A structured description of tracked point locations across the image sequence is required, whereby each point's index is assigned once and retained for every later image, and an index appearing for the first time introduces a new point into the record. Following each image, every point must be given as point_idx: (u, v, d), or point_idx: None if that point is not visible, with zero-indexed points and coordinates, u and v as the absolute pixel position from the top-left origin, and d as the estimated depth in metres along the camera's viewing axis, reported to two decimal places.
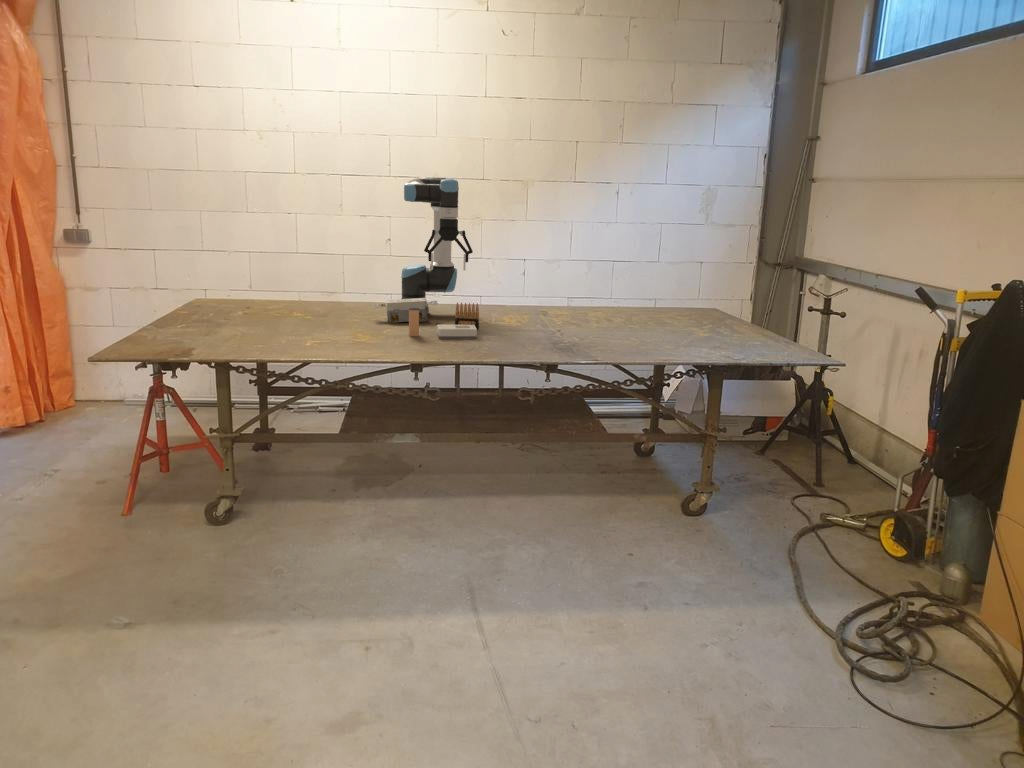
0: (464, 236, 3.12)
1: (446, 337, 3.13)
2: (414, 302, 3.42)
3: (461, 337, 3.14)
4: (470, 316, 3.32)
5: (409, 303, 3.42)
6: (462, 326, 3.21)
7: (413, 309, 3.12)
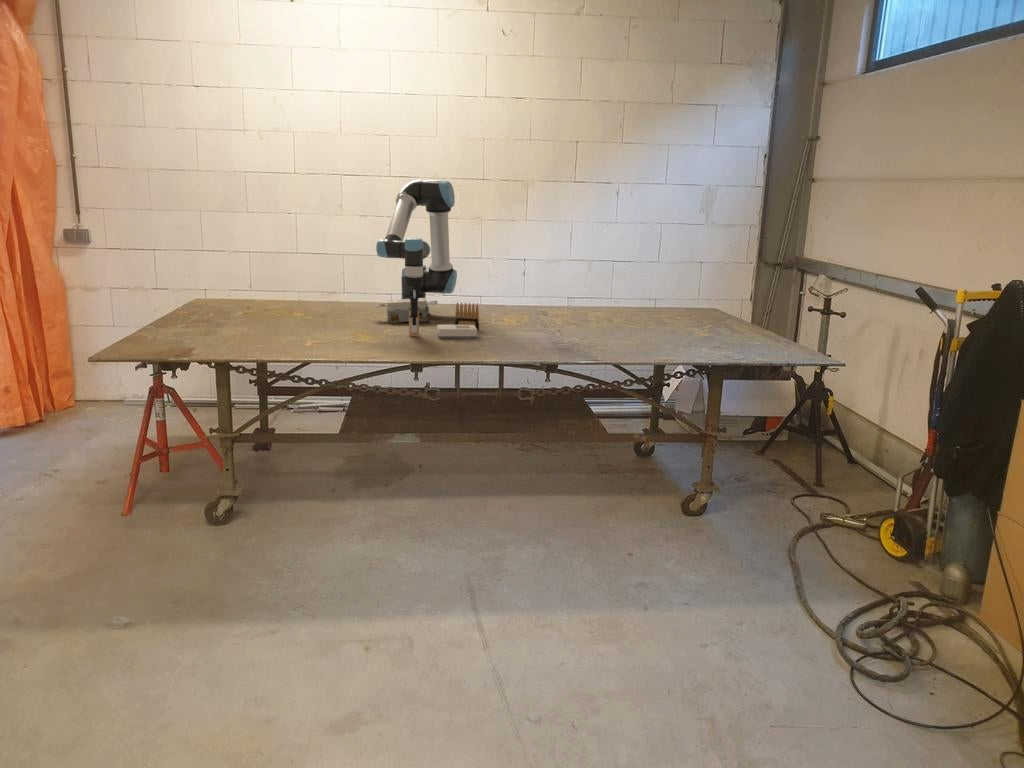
0: (411, 298, 3.08)
1: (446, 337, 3.13)
2: None
3: (461, 337, 3.14)
4: (470, 316, 3.32)
5: (409, 303, 3.42)
6: (462, 326, 3.21)
7: None
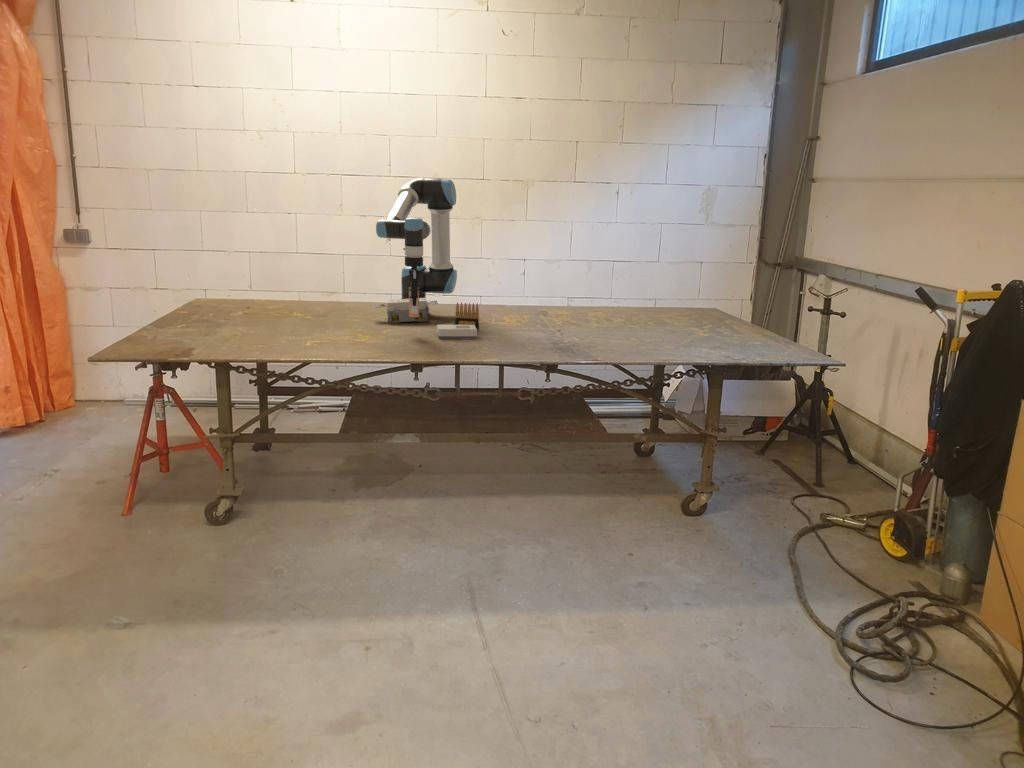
0: (411, 279, 3.06)
1: (446, 337, 3.13)
2: None
3: (461, 337, 3.14)
4: (470, 316, 3.32)
5: None
6: (462, 326, 3.21)
7: None
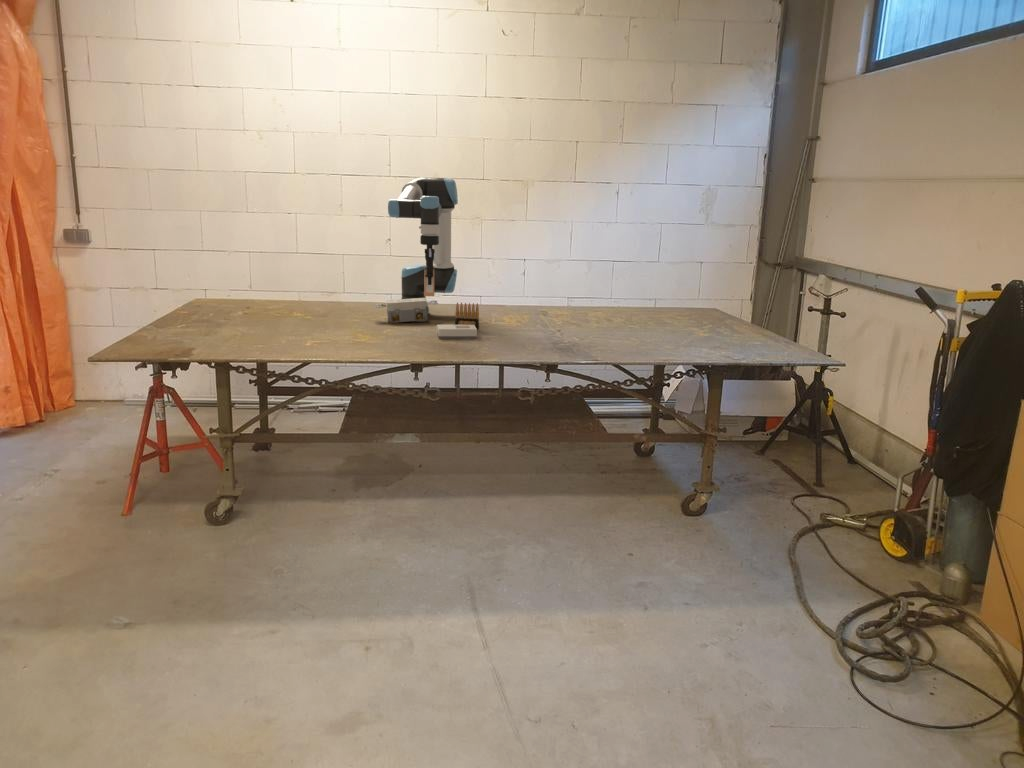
0: (427, 257, 3.04)
1: (446, 337, 3.13)
2: (415, 302, 3.42)
3: (461, 337, 3.14)
4: (470, 316, 3.32)
5: (410, 303, 3.42)
6: (462, 326, 3.21)
7: None
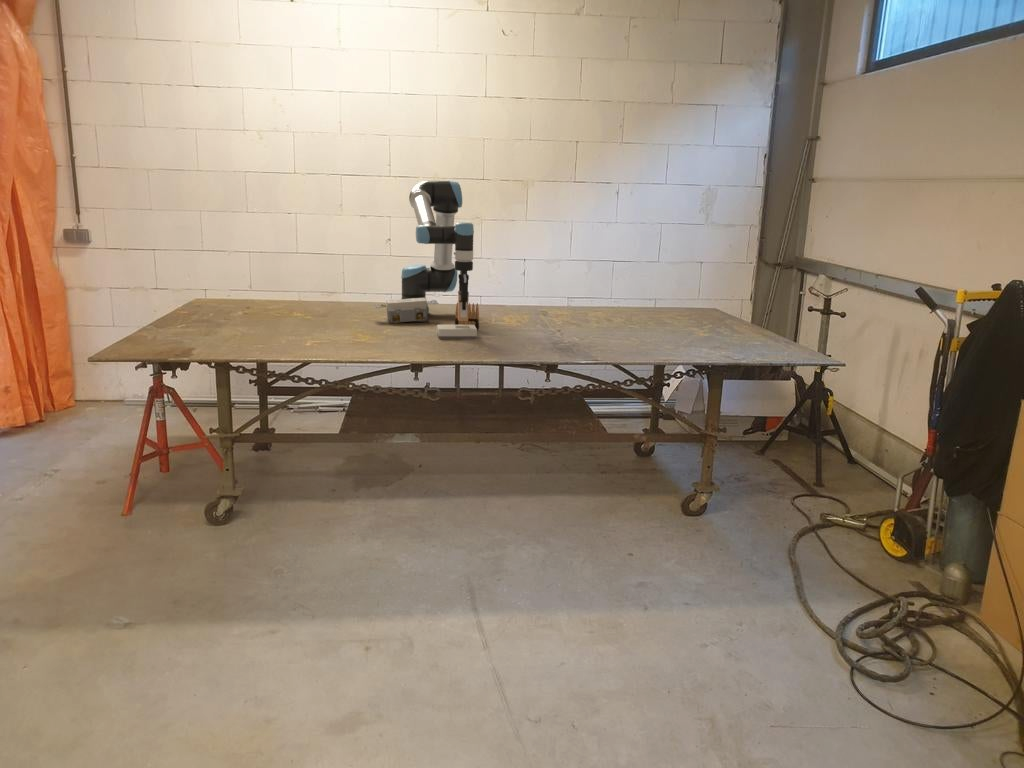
0: (462, 283, 3.07)
1: (446, 337, 3.13)
2: (415, 302, 3.42)
3: (461, 337, 3.14)
4: (470, 316, 3.32)
5: (410, 303, 3.42)
6: (462, 326, 3.21)
7: None
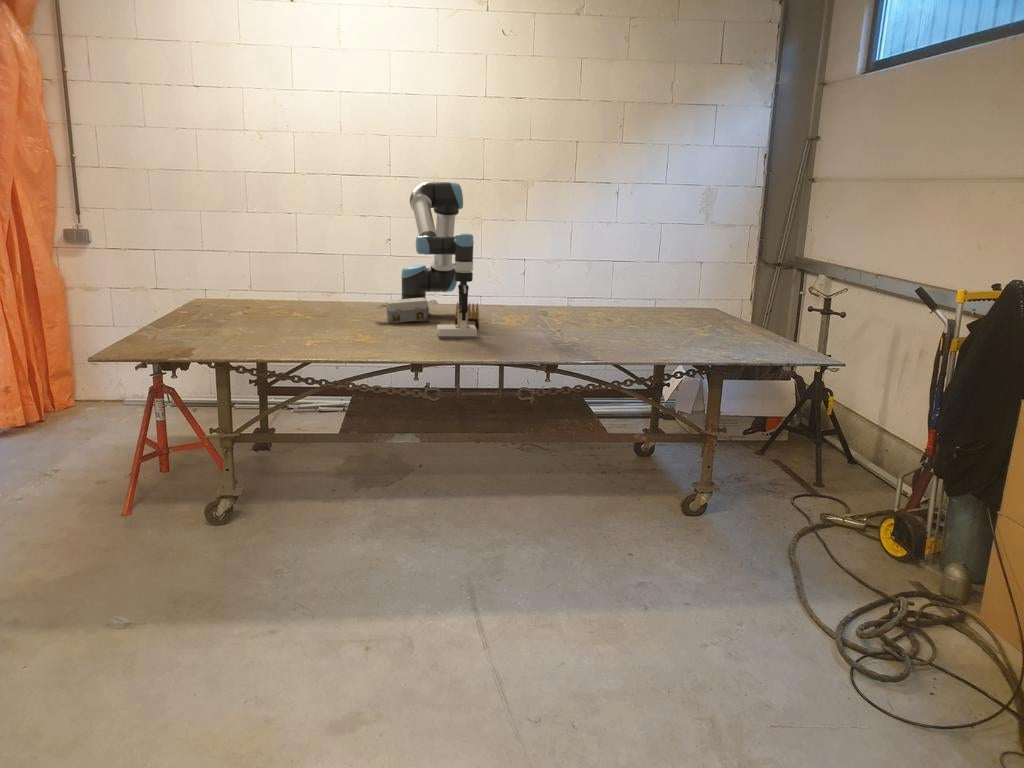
0: (461, 294, 3.09)
1: (446, 337, 3.13)
2: (415, 302, 3.43)
3: (461, 337, 3.14)
4: (470, 316, 3.32)
5: (410, 303, 3.42)
6: None
7: None
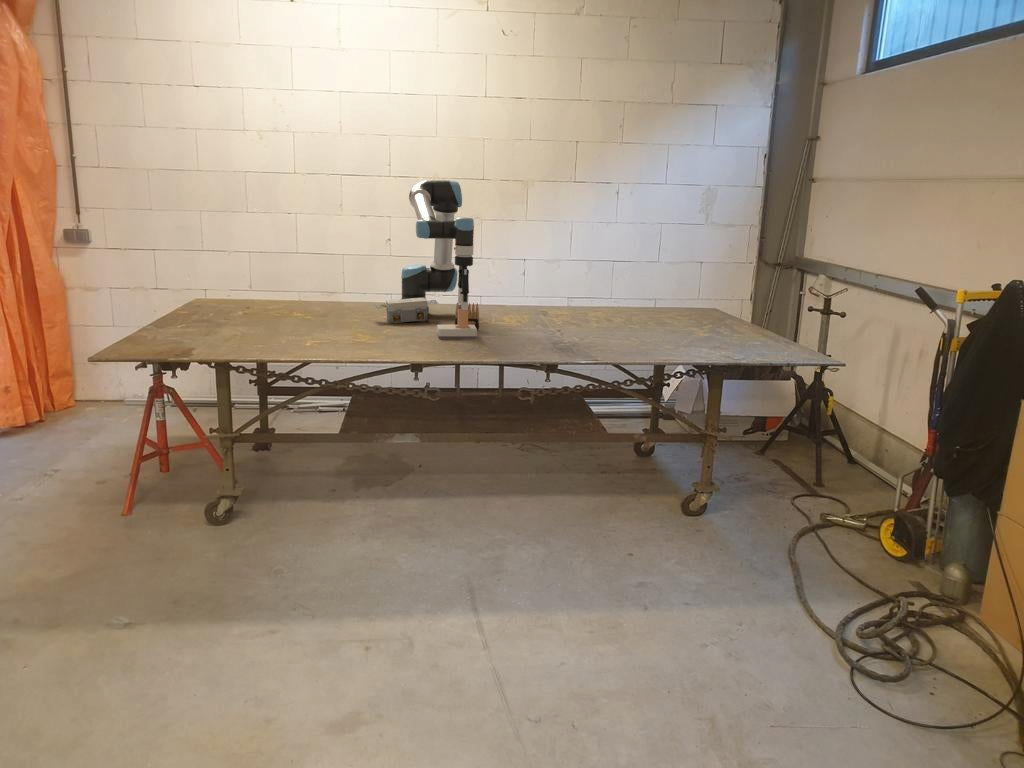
0: (462, 275, 3.06)
1: (446, 337, 3.13)
2: (416, 302, 3.43)
3: (461, 337, 3.14)
4: (470, 316, 3.32)
5: (411, 303, 3.42)
6: None
7: None
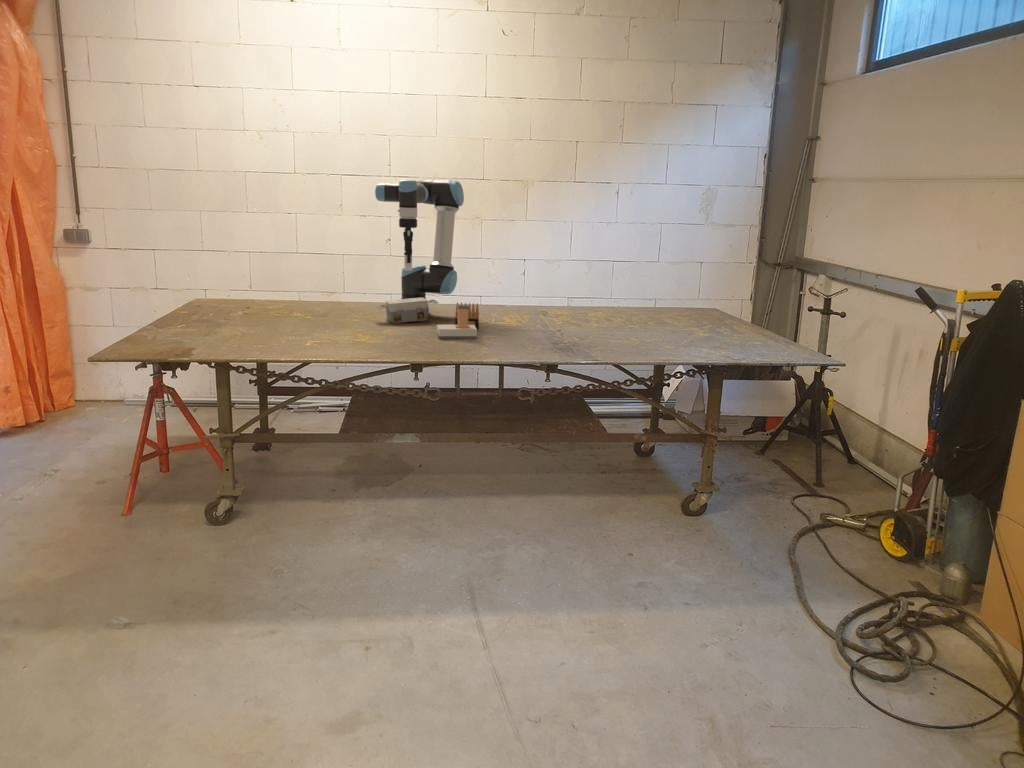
0: (405, 236, 3.10)
1: (446, 337, 3.13)
2: (416, 302, 3.43)
3: (461, 337, 3.14)
4: (470, 316, 3.32)
5: (411, 303, 3.42)
6: None
7: (462, 308, 3.14)
